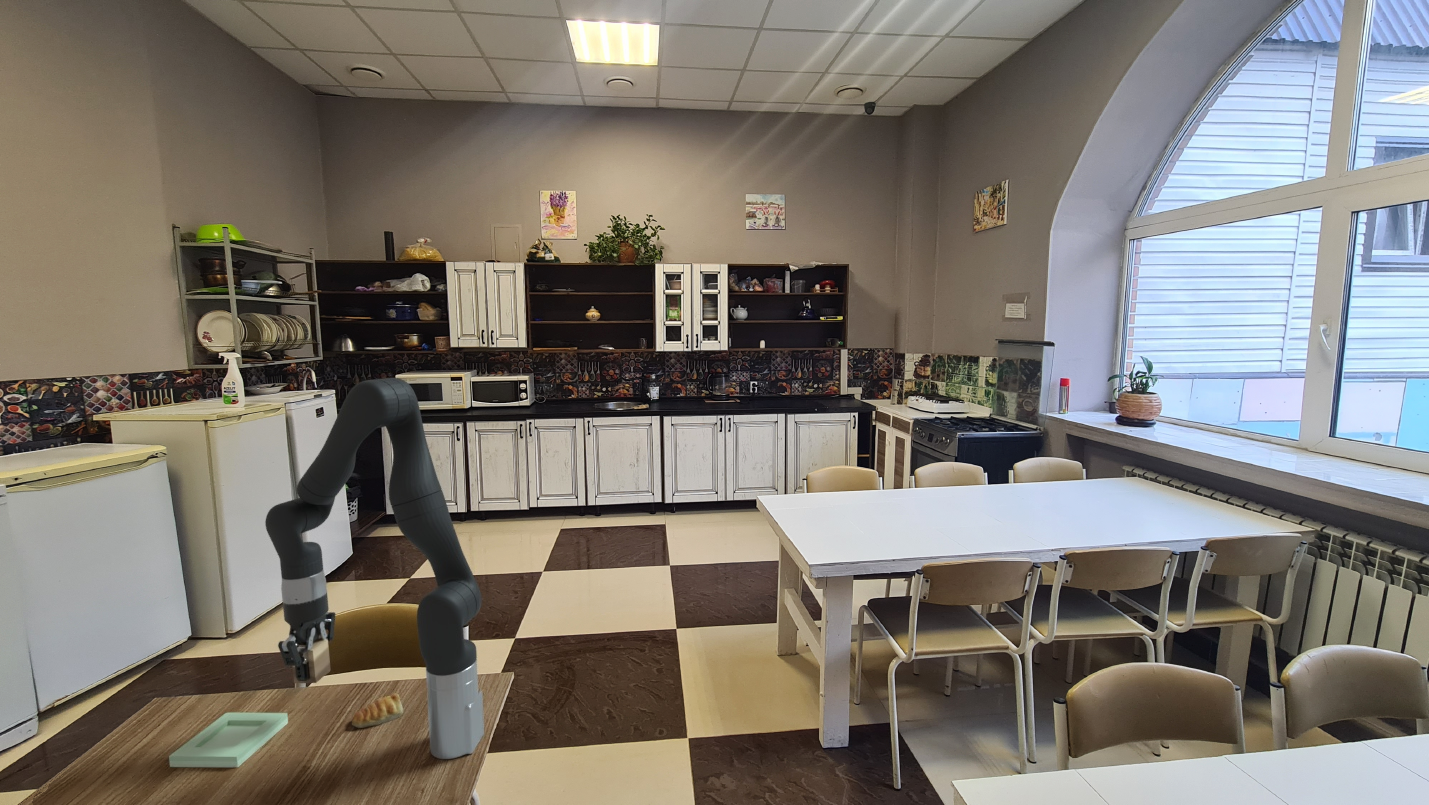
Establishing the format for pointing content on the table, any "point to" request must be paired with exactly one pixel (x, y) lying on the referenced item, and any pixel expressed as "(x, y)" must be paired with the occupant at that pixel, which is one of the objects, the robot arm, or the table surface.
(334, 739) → the table surface
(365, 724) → the pastry
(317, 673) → the wooden block
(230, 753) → the plate
